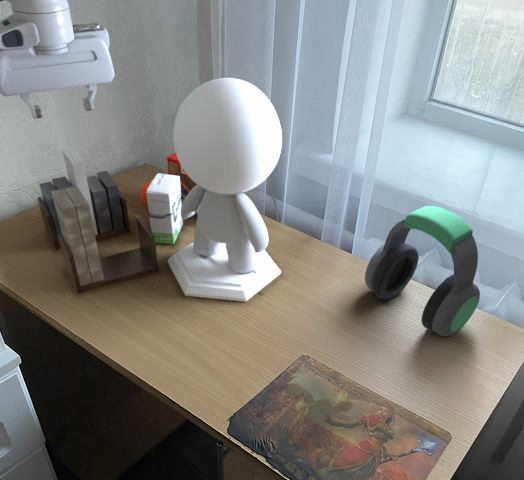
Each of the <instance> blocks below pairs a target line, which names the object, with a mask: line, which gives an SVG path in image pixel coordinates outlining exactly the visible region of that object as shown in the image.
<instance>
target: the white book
mask: <svg viewBox="0 0 524 480" xmlns="http://www.w3.org/2000/svg"><path fill="white" fill-rule="evenodd" d="M61 151H62V156H63V158H64V164H65V169H66V173H67V179H68V181H69V183H70V184H71V186H72V187H74V186H77V187H78V188H79V190H80V191H81V193H82V194H83V196H84V198H85V199H86V201H87V202H88V204H89V208H90V213H91V218H92V223H93V228H94V233H95V235H98V232H97V227H96V222H95V217H94V212H93V207H92V202H91V197H90V192H89V187H88V182H87V177H88V176H87V173H86V169H85V164H84V160H83V158H81V156H80V155H79V154H78V152H77V151H76V149H75V147H69V148H62V149H61Z"/></svg>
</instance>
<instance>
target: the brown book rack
mask: <svg viewBox="0 0 524 480" xmlns="http://www.w3.org/2000/svg"><path fill="white" fill-rule="evenodd" d="M51 192H52V196H53V200H54V204H55V208H56V212H57V216H58V220H59V224H60V228H61V231H62V235H63V236H62V235H58V236H57V237H58V240H59V244H60V248H61V249H60V252H61V255H62V259H63V263H64V267H65V270H66V273H67V275H68V277H69V278H70V281H71V282H72V285H73V286H74V288H75V290H76V292H77V294H80V293H83V292H84V293H85V292H87V291H91V290H95V289H99V288H102V287H105V286H109V285H112V284H116V283H120V282H124V281H127V280H132V279H134V278H137V277H141V276H145V275H149V274H152V273H156V272H158V271H159V265H158V256H157V248H156V247H157V246H156V243H155V238H154V235H153V234H152V232H151V229H150V228H149V227H148V226H147V224H146V223H145V222H144V220H143V219H142V217H140V216H136V217H135V222H136V223H135V224H136V229H137V237H138V245H139V247H137V248H134V249H130V250H126V251H122V252H118V253H114V254H110V255H107V256H103V257H100V252H99V248H98V243H97V242H98V241H97V240H96V238H95V233H94V228H93V223H92V218H91V213H90V208H89V204H88V202H87V201H86V199H85V198H84V196H83V194H82V193H81V191H80V190H79V188H78V187H77V186H74V187H70V188H65V190H64V189H60V190H55V191H51Z"/></svg>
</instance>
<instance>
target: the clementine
mask: <svg viewBox="0 0 524 480" xmlns="http://www.w3.org/2000/svg"><path fill="white" fill-rule="evenodd" d="M154 178H155V177H152V178H151V180H149V181H146V183H145V184H144V185H143V186H142V188H141V191H140V199H141V202H142V204H143V205H144V206H145V207H146V208H147V209H148V202H147V194H146V192H147V189H148V187H149V186H150V184H151V182H152V181H153V179H154Z"/></svg>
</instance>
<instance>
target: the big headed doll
mask: <svg viewBox="0 0 524 480" xmlns="http://www.w3.org/2000/svg"><path fill="white" fill-rule="evenodd" d="M172 139H173V141H172V142H173V148H174V153H176V155H177V158H178V160H179V163H180V164H181V166H182V168H183V170H184V171H185V172H186V174H187V175H188V176H189V177H190V178H191V179H192V180H193V181H194V182H195V183H197V185H196V186H195V187H194V188H193V189H192V190H191V191H190V192H189V193H188V194H187V196H186V197H185V199H184V201H183V203H182V207H181V217H182V219H183V221H185V220H188V219H189V218H191V217H193V216H195V211H196V214H197V215H198V216H197V215H196V216H197V217H196V223H195V228H194V237H193V242H191V243H189V244H187V246H185V247H183V248H182V249H180V250H179V251H177V252H175V253H173V254H172V255H171V256H170V257H169V258H168V259H167V264H168V266H169V268H170V270H171V271H172V273H173V275H174V278H175V280H176V281H177V283H178V285H179V286H180V288H181V290H182V292H183V294H184V296H186V297H194V298H204V299H215V300H224V301H225V300H226V301H234V302H244V303H245V302H247V301H249V300H250V299H252V298H253V297H254V296H256V294H257V293H258V292H260V291H261V290H263V289H264V288H265V287H266V286H268V285H269V284H270V283H271V282H272V281H274V280H276V278H278V277H279V276H280V275H281V274H282V271H281V269H280V268H279V266H278V265H277V264H276V263H275V261H274V260H273V259H272V257H271V255H270V254H269V253H268V252H267V251H266V249H267V247H268V245H269V232H268V228H267V226H266V223H265V221H264V219H263V217H262V216H261V214H260V212H259V210H258V209H257V207H256V205H255V204H254V203H253V201H252V200H251V199H250V197H248V195H246V194H245V193H246V192H248V191H251V190H253V189H255V188H256V187H258V186H260V185H261V184H262V183H263V182H264V181H265V180H266V179H267V178H268V177H269V176H270V175H271V173H272V172H273V171H274V170H275V168H276V166H277V164H278V162H279V159H280V156H281V153H282V146H283V133H282V127H281V123H280V119H279V116H278V114H277V111H276V109H275V107H274V105H273V103H272V102H271V100H270V99H269V98H268V97H267V95H266V94H265V93H264V92H263V91H262V90H260V88H258V87H257V86H256V85H254V84H252V83H250V82H248V81H247V80H243V79H239V78H236V77H235V78H234V77H220V78H215V79H211V80H208V81H205V82H203V83H202V84H200V85H199V86H197V87H196V88H194V89H193V90H192V91H191V92H190V93H188V95H187V96H186V97H185V98H184V100H183V101H182V103H181V105H180V106H179V108H178V110H177V113H176V115H175V119H174V123H173V131H172Z"/></svg>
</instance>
